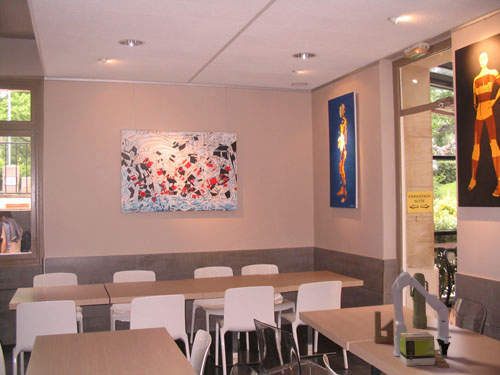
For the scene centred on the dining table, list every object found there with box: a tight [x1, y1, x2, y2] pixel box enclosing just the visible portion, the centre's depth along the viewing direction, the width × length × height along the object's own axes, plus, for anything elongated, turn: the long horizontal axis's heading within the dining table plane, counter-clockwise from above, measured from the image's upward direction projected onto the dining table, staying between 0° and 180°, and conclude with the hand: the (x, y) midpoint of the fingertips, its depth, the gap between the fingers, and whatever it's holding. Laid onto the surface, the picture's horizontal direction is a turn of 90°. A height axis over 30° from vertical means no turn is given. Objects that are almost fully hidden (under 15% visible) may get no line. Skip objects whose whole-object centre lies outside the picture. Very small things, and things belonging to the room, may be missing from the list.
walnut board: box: [435, 352, 450, 369], centre depth 287 cm, size 24×5×2 cm, turn 174°
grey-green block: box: [435, 346, 448, 359], centre depth 294 cm, size 4×7×6 cm, turn 84°
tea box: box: [400, 331, 436, 367], centre depth 284 cm, size 15×10×15 cm, turn 92°
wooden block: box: [373, 310, 395, 344], centre depth 324 cm, size 4×11×18 cm, turn 85°
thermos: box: [409, 272, 430, 330], centre depth 360 cm, size 9×12×35 cm
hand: (443, 353), depth 294 cm, fingers closed on grey-green block, 3 cm apart
